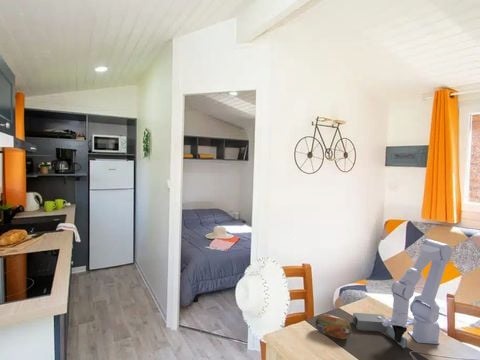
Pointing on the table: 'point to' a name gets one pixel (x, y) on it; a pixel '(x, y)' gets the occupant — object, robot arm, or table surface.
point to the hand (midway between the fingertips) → (397, 341)
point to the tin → (333, 326)
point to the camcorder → (369, 322)
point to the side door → (392, 334)
